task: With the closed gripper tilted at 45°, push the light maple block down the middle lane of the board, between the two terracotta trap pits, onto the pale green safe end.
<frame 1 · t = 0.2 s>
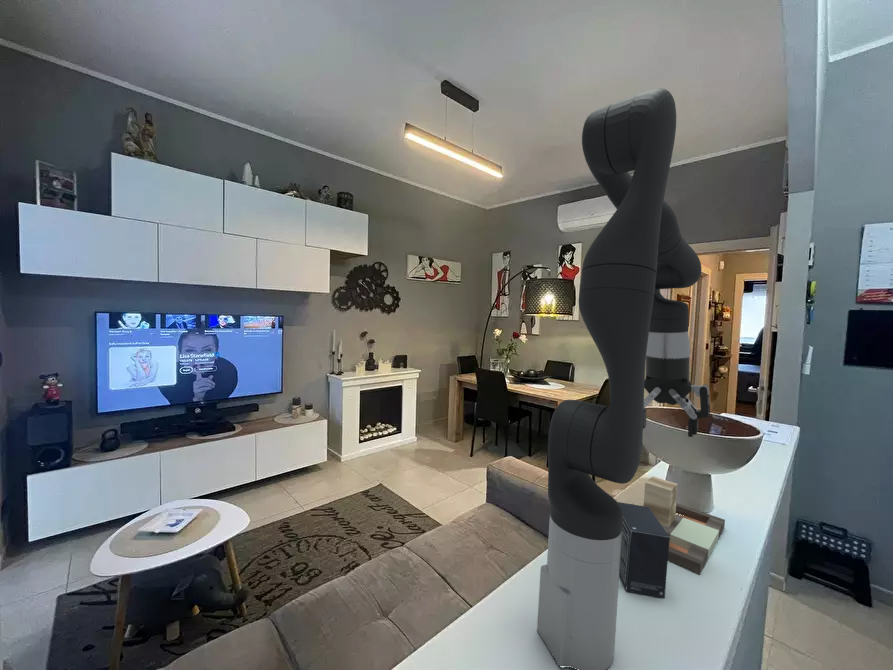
hand: (666, 431, 75), 23 cm above the table, tool pointing down, fingers open, 8 cm apart
small box: (636, 575, 65), on the table
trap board: (676, 534, 79), on the table
maple block: (658, 518, 81), point 2 cm above the table, touching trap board
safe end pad: (694, 541, 76), resting on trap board
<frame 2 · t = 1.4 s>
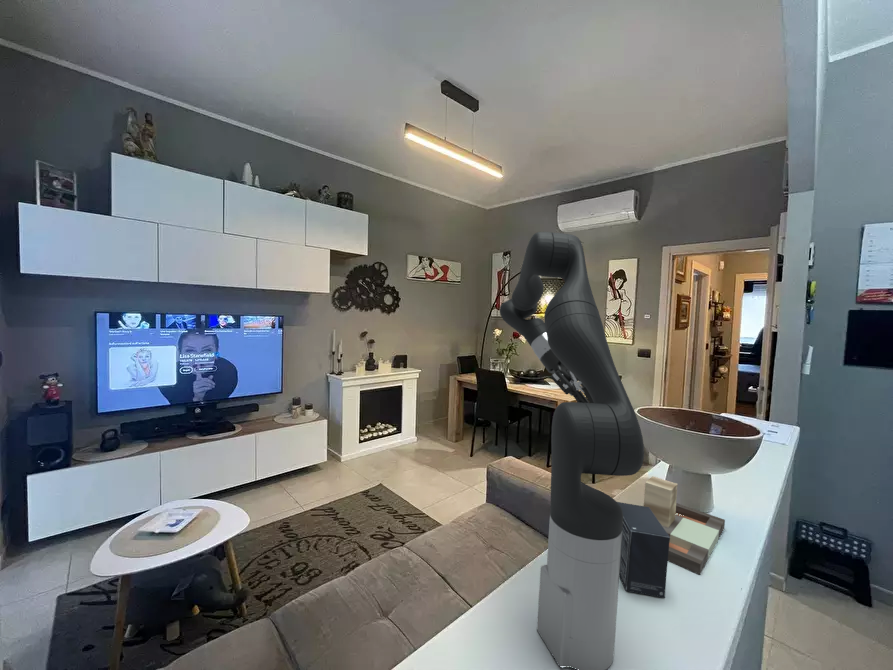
hand: (591, 404, 92), 24 cm above the table, tool tilted 45°, fingers open, 5 cm apart
nothing on the table moved.
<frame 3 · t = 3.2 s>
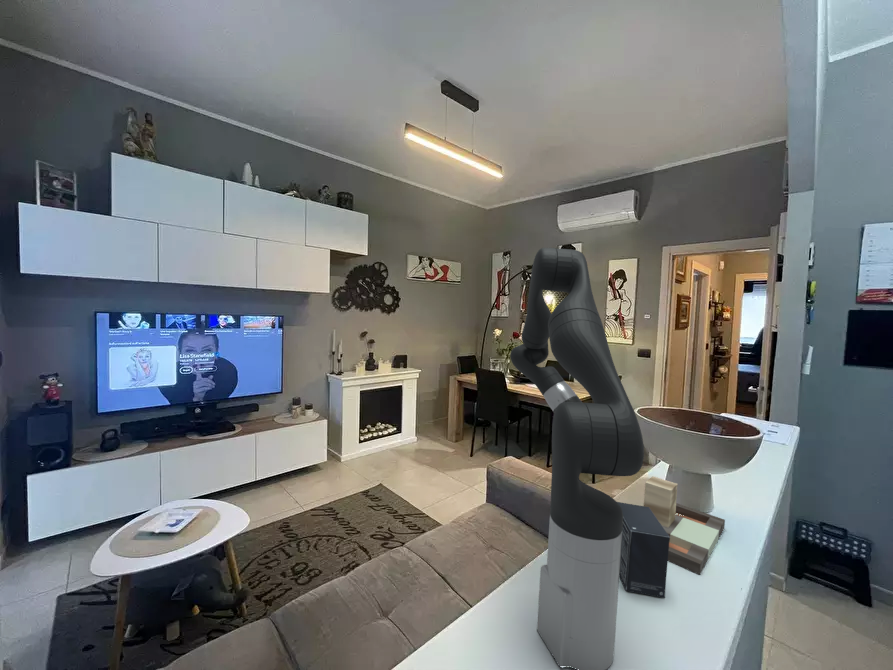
hand: (608, 462, 89), 11 cm above the table, tool tilted 45°, fingers closed
nothing on the table moved.
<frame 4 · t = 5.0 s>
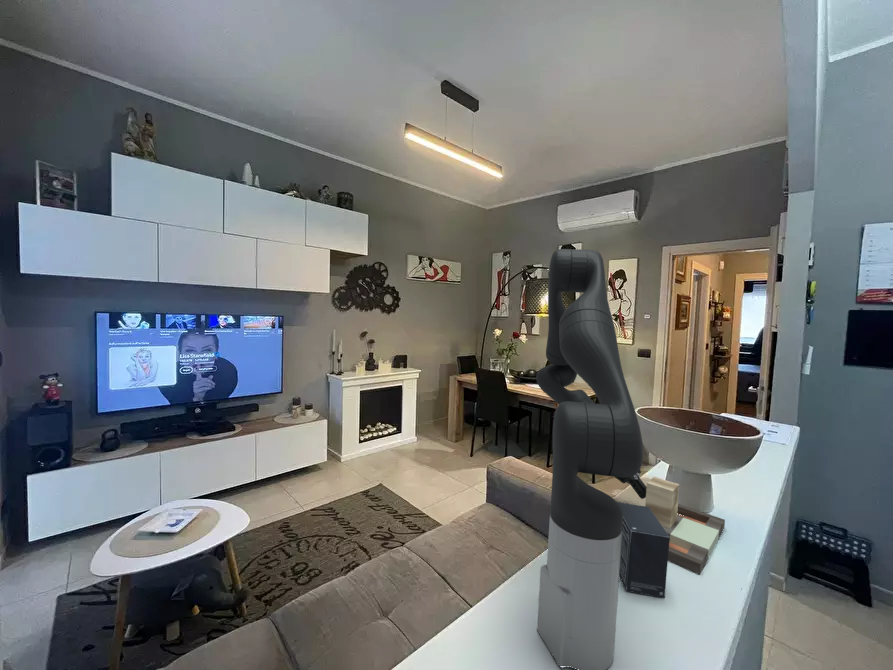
hand: (646, 496, 83), 6 cm above the table, tool tilted 45°, fingers closed
maple block: (660, 519, 81), point 2 cm above the table, touching gripper
everything else where it was.
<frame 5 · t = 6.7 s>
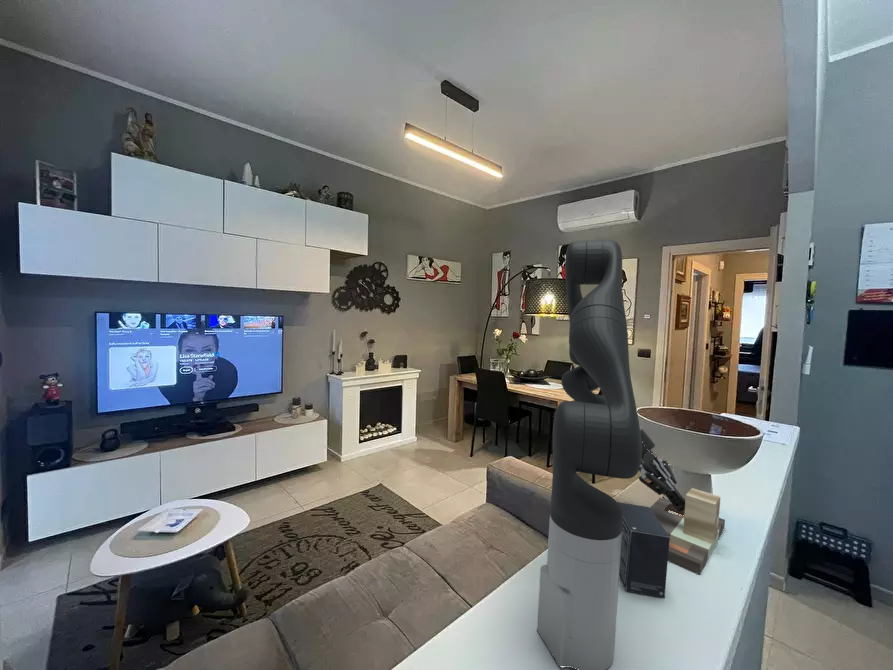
hand: (684, 508, 78), 6 cm above the table, tool tilted 45°, fingers closed
maple block: (700, 533, 76), point 2 cm above the table, touching gripper, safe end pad
everything else where it was.
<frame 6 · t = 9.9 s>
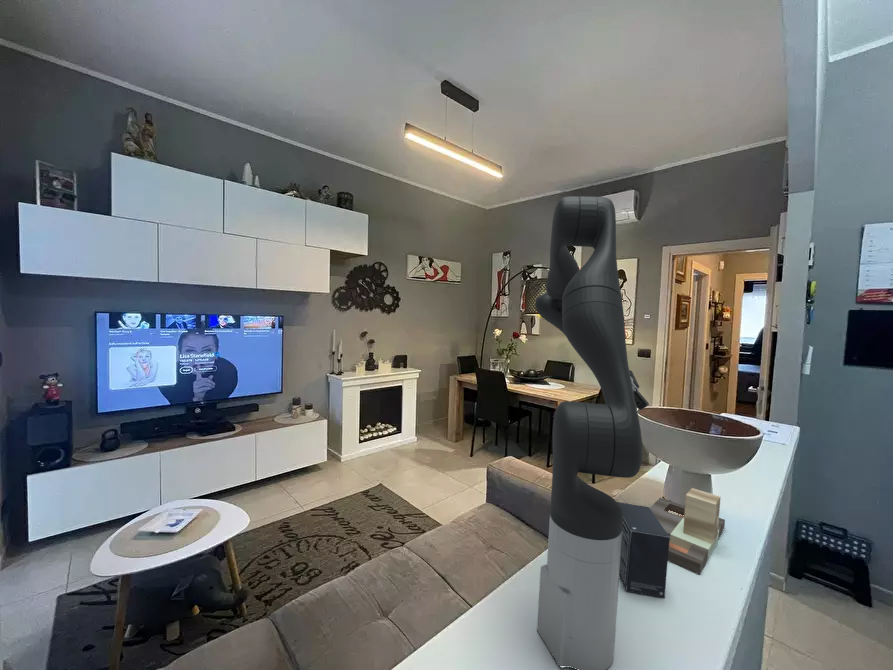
hand: (644, 407, 83), 26 cm above the table, tool tilted 45°, fingers closed
maple block: (700, 533, 76), point 2 cm above the table, touching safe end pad
everything else where it was.
at the end: maple block 0.9 cm from the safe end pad (horizontally); maple block tilted 0°; maple block point 2.0 cm above the table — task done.
